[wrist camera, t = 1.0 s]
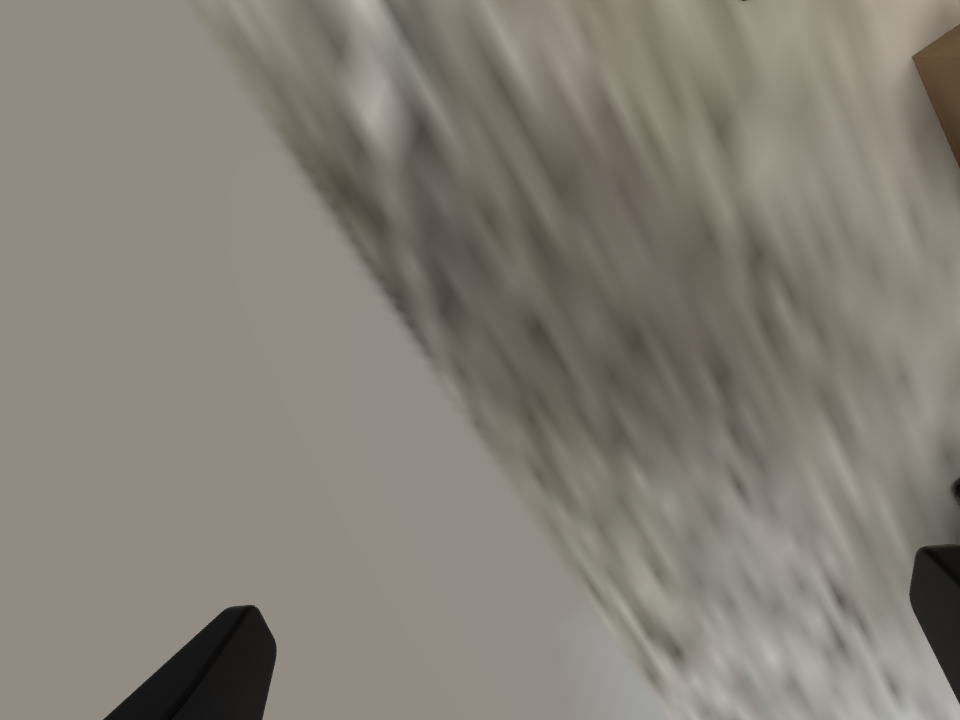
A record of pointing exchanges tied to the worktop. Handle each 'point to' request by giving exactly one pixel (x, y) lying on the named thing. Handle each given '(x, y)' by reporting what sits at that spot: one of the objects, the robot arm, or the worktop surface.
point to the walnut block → (943, 83)
